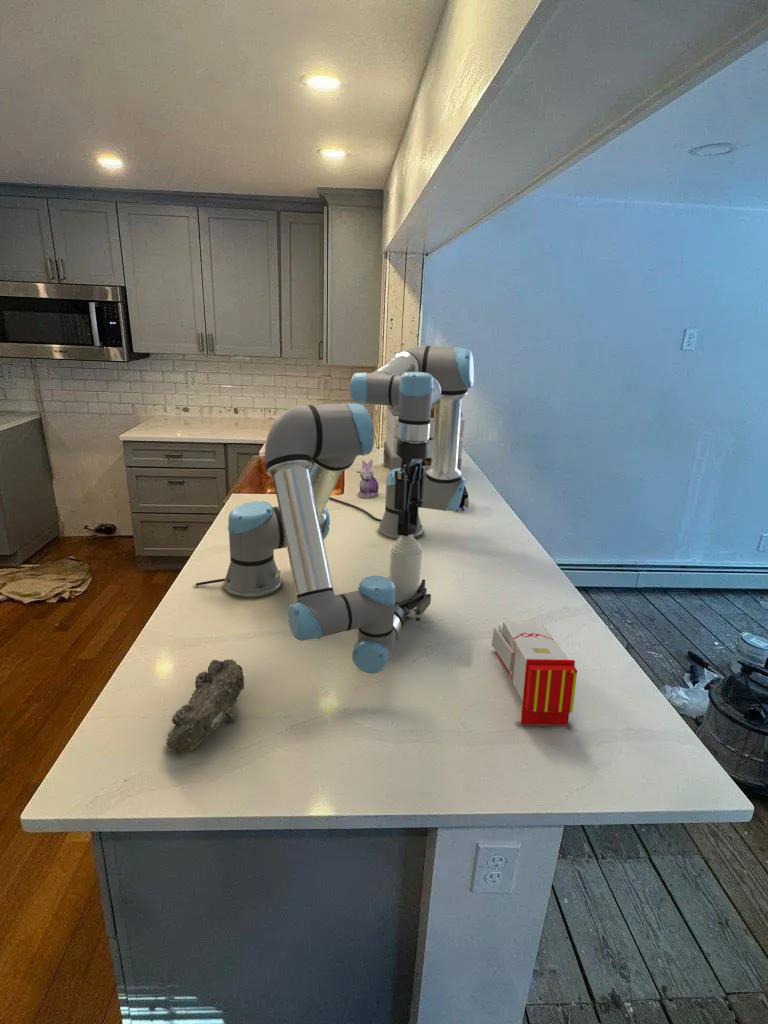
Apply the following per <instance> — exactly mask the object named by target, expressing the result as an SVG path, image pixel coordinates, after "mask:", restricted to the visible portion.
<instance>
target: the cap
mask: <svg viewBox="0 0 768 1024" xmlns="http://www.w3.org/2000/svg"><path fill="white" fill-rule="evenodd" d="M415 533H416V525H415V524H413V523H409V535H412V534H415Z"/></svg>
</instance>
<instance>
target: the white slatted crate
mask: <svg viewBox="0 0 768 1024" xmlns="http://www.w3.org/2000/svg"><path fill="white" fill-rule="evenodd" d="M434 406H435V405H433V406H431V415H430V435H429V439H428V440H427V441H428V443H429V446H428V456H427V457H426V458H424V459H422V461H426V462H427V465H426V467H431V462H432V443H433V425H434ZM385 414H386V415H385V423H386V428H385V438H384V442H383V466H384V467H388V468H389V472H390V471H391V470H393V469H396V468H400V466H401V462H402V458H401V457H399V456H398V455H397V454H396V450H397V441H398V440H399V438H398V437H397V435H398V427H397V424H398V416H399V406H389V405H386V413H385ZM464 429H465V419H464V418H463V411H461V421H460V434H459V448H458V461H457V468H458V469H459V470H460V471H461V472H462V461H463V460H462V453H463V442H464V441H463V440H462V439H463V438H464V431H465V430H464Z"/></svg>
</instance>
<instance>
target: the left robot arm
mask: <svg viewBox="0 0 768 1024" xmlns="http://www.w3.org/2000/svg"><path fill="white" fill-rule="evenodd" d="M374 443H375V433H374V424H373V421H372V417H371V415H370V413H369V410H368V409H367V408H366V406H364V405H363V404H362V403H350V402H344V403H343V402H342V403H325V404H323V403H322V404H308V405H307V404H299V405H294V406H292V407H290V408H288V409H286V410H285V411H283V412H282V413H281V414H280V415H278V417H277V418H276V419H275V421H274V422H273V424H272V426H271V428H270V430H269V431H268V434H267V438H266V441H265V446H264V463H265V464H264V465H265V468H266V469H265V470H266V474H267V475H268V476H269V477H271V478H272V479H273V484H274V485H273V486H274V489H275V494H276V495H275V496H276V499H277V505H278V506H273V505H272V503H270V502H268V501H259V500H258V501H257V500H256V501H250V502H249V501H248V502H245V503H242V504H240V505H237V506H236V507H234V508H233V509H232V510H231V511H230V512H229V515H228V526H227V530H228V540H229V541H228V543H229V556H230V558H229V561H230V562H229V565H228V568H227V572H226V575H225V578H219V579H218V578H217V579H212V580H207V581H199V582H196V583H195V586H196V587H197V586H203V585H209V584H215V583H221V582H224V589H225V592H227V593H228V594H230V595H232V596H233V597H236V598H243V599H257V598H262V597H266V596H270V595H272V594H274V593H276V592H277V591H278V590H279V589H280V588H281V586H282V578H281V569H278V566H277V564H276V562H275V558H274V557H275V555H274V554H275V553H274V552H275V550H280V549H287V555H288V561H289V565H290V570H291V575H292V580H293V585H294V591H295V596H296V602H295V603H291V604H290V606H289V608H288V612H287V614H288V625H289V629H290V631H291V634H292V636H293V637H294V638H295V639H296V640H297V641H299V642H303V641H310V640H316V639H322V638H324V637H328V636H331V635H332V636H333V635H336V634H340V633H344V632H349V631H355V630H357V642H356V643H355V645H354V646H353V650H352V653H351V658H352V662H353V664H354V666H355V667H356V668H357V669H358V670H360V672H363V673H365V674H369V675H370V674H371V675H372V674H378V673H380V672H381V671H383V670H384V669H385V667H386V666H387V664H388V663H389V661H390V660H391V655H392V654H393V650H394V648H395V646H396V644H397V641H398V639H399V638H400V635H401V633H402V631H403V628H404V627H405V623H406V621H408V620H409V619H410V618H409V617H411V618H413V619H414V618H415V621H416V622H420V621H421V616H422V615H423V614H424V613H425V611H426V610H427V609H428V607H430V605H431V601H432V594H431V593H427V591H428V589H427V587H426V579H424V578H423V579H422V580H421V581H420V584H419V588H418V593H417V594H416V595H414V596H413V597H411V598H410V599H408V600H403V601H402V602H395V601H396V600H395V586H394V583H393V582H392V581H391V580H390V579H389V577H386V576H382V575H368V576H365V578H362V579H361V580H360V581H359V585H358V588H357V589H358V590H356V591H350V592H344V593H341V594H335V590H334V585H333V581H332V576H331V571H330V565H329V562H328V561H329V560H328V556H327V551H326V546H325V543H324V542H325V539H326V538H327V536H329V535H328V534H329V532H330V525H331V518H330V513H329V510H328V508H327V504H328V501H329V500H330V499H329V498H330V497H331V496H332V494H333V492H334V489H335V487H336V485H337V483H338V481H339V479H340V477H341V474H342V473H343V471H345V470H348V469H350V468H351V467H352V465H354V462H355V461H356V459H357V457H358V456H362V457H364V456H367V455H369V454H371V452H372V451H373V448H374V445H375V444H374ZM416 606H417V607H416ZM415 607H416V608H415ZM413 608H414V610H413V611H412V612H410V610H412V609H413Z"/></svg>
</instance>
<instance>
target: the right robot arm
mask: <svg viewBox="0 0 768 1024" xmlns="http://www.w3.org/2000/svg"><path fill="white" fill-rule="evenodd" d="M474 366H475V365H474V356H473V352H472V351H471V350H470V349H469V348H465V347H458V346H443V345H442V346H441V345H415V346H411V347H406V348H404V349H402V350H400V351H398V352H396V353H394V354H393V355H392V356H391V357H389V360H388V362H386V363H385V364H383V365H381V366H380V367H379V368H377V369H375V370H374V371H372V372H371V373H369V372H365V371H364V372H355V373H354V374H353V375H352V377H351V380H350V385H349V394H350V398H351V400H352V401H353V403H356V404H364V405H375V406H376V405H378V406H387V405H389V406H399V416H398V424H397V427H398V435H397V437H398V438H399V440H398V441H397V450H396V454H397V455H398V456H399V457H401V458H402V462H401V466H400V468H396V469H393V470H391V471H390V470H389V472H388V473H387V475H386V482H385V504H384V505H385V507H384V508H385V509H384V513H383V515H382V519H381V518H377V517H375V516H373V515H372V514H371V513H370V512H369V511H367V510H365V509H363V508H361V507H359V506H356V505H354V504H352V503H348V502H346V501H343V500H339V499H337V498H334V497H331V496H330V498H329V500H330V501H331V500H332V501H335V502H338V503H340V504H343V505H346V506H349V507H352V508H355V509H357V510H359V511H362V513H365V514H367V515H368V516H369V517H370V518H372V519H373V520H375V521H378V522H379V526H378V533H379V534H380V535H381V536H382V537H385V538H387V539H389V540H395V541H397V539H399V537H401V535H403V536H409V523H413V524H415V525H416V533H415V534H413V537H414V538H415V539H418V538H420V537H421V536H422V535H423V523H422V522H421V518H420V515H419V508H422V509H428V510H436V511H443V512H457V511H458V509H459V508H458V507H459V505H460V501H461V498H462V494H463V490H464V486H466V485H465V484H466V478H465V477H462V470H461V471H460V470H459V469H458V468H457V461H458V448H459V434H460V421H461V418H462V417H461V412H462V406H463V398H464V397H465V396H466V395H467V394H468V391H469V389H471V388H473V386H474V382H475V381H474V376H475V371H474V370H475V367H474ZM433 405H435V406H434V425H433V443H432V462H431V465H430V466H429V468H427V466H426V465H427V462H426V461H422V459H424V458H426V457H427V456H428V446H429V443H428V441H427V440H428V439H429V435H430V415H431V406H433ZM426 469H427V470H426ZM456 510H457V511H456Z"/></svg>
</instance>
